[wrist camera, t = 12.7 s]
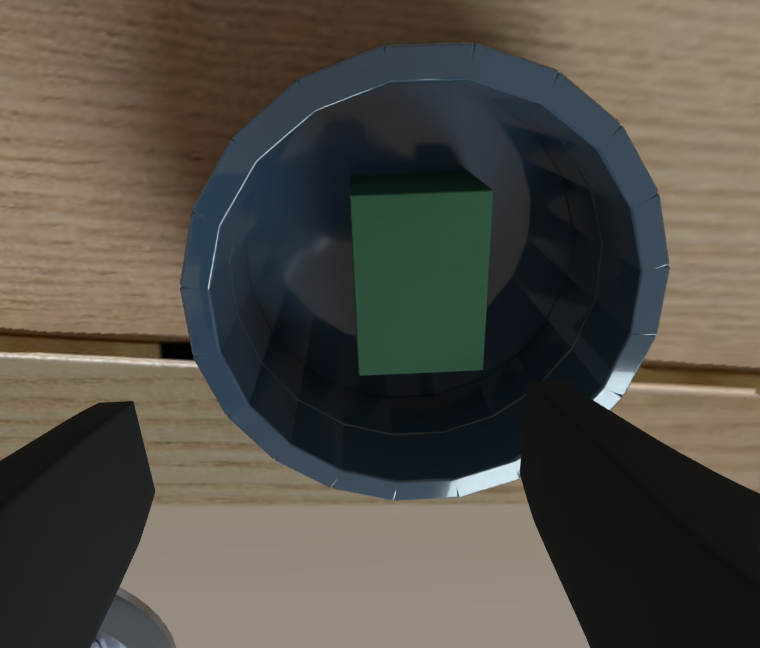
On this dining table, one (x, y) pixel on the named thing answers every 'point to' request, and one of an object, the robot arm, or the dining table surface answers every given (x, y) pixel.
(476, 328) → the green rectangular block
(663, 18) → the dining table surface
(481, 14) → the dining table surface
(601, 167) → the basin
